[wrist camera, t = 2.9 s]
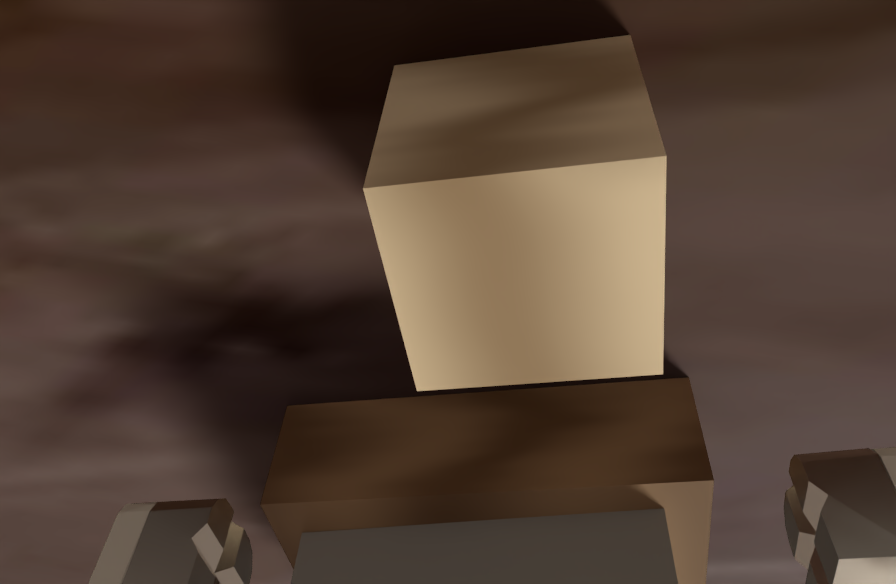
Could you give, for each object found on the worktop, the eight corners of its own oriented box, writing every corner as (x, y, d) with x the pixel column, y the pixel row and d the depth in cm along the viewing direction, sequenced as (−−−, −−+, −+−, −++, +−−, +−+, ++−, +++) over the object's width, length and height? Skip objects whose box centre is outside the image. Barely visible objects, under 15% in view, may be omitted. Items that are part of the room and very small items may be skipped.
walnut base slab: (686, 366, 23) (714, 480, 20) (677, 585, 31) (697, 692, 28) (290, 396, 25) (260, 504, 22) (374, 596, 32) (360, 698, 29)
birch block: (629, 33, 17) (666, 155, 13) (632, 228, 20) (662, 374, 16) (394, 63, 17) (363, 188, 13) (433, 247, 20) (416, 390, 17)
